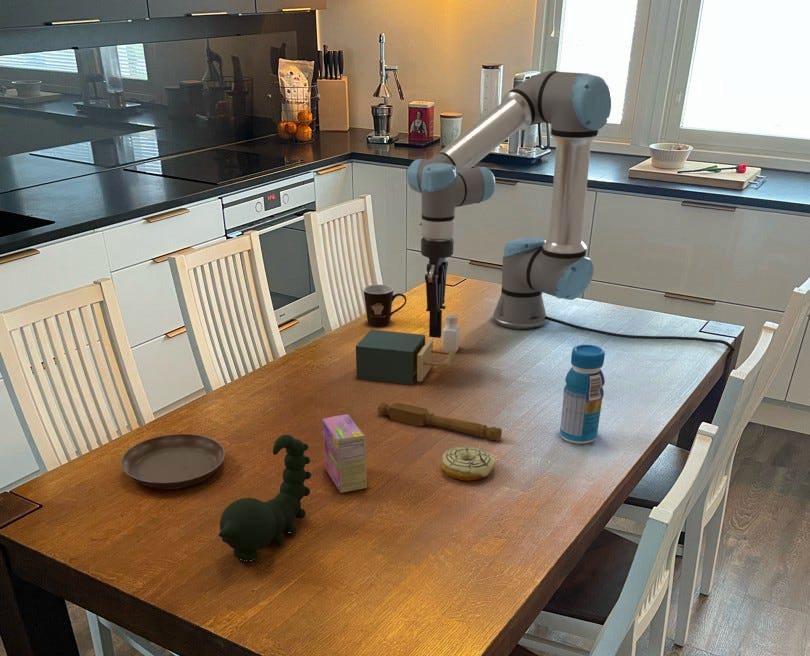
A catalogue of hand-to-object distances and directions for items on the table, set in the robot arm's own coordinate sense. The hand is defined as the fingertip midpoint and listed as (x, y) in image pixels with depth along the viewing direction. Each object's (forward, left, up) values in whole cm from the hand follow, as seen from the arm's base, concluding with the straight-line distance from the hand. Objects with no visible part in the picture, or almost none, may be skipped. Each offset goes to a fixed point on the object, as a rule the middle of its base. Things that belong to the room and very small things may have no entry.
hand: (435, 336), depth 209 cm
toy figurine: (+10, +80, -11) cm, 81 cm away
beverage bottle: (-39, +23, -11) cm, 46 cm away
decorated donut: (-19, +45, -11) cm, 50 cm away
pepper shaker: (0, -19, -11) cm, 22 cm away
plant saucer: (+39, +61, -11) cm, 73 cm away
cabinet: (+11, 0, -11) cm, 16 cm away
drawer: (+6, 0, -10) cm, 11 cm away
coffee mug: (+24, -34, -11) cm, 43 cm away
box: (+4, +55, -11) cm, 56 cm away
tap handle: (-8, +27, -11) cm, 30 cm away
